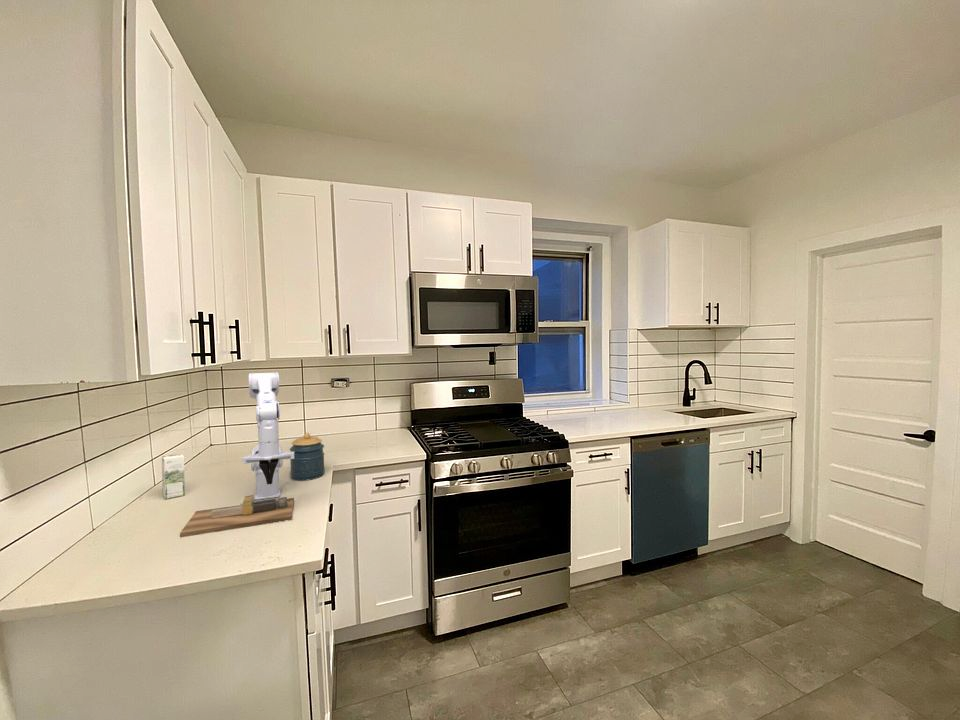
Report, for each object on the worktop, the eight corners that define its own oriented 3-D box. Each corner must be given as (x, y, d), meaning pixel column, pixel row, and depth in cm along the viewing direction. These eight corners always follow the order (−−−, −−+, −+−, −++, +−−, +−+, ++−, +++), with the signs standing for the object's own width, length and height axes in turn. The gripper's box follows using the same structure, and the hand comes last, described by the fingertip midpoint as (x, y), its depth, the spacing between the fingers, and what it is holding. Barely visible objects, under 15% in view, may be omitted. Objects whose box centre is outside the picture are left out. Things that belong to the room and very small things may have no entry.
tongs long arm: (212, 516, 122) (212, 509, 122) (275, 507, 128) (275, 501, 128) (211, 518, 120) (211, 511, 120) (275, 509, 126) (274, 503, 126)
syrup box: (182, 491, 147) (181, 452, 147) (185, 495, 143) (184, 455, 142) (162, 495, 143) (161, 455, 143) (165, 500, 139) (163, 458, 138)
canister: (286, 482, 156) (285, 437, 156) (294, 472, 169) (293, 430, 168) (321, 479, 159) (320, 435, 158) (327, 469, 172) (326, 429, 171)
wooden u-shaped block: (245, 508, 128) (245, 496, 127) (254, 507, 128) (254, 495, 128) (242, 515, 122) (242, 502, 122) (252, 513, 123) (251, 501, 123)
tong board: (196, 514, 126) (195, 503, 126) (294, 501, 137) (293, 490, 137) (180, 537, 111) (179, 523, 111) (291, 519, 122) (291, 507, 122)
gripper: (240, 445, 120) (241, 490, 121) (293, 441, 126) (294, 484, 126) (243, 440, 127) (245, 483, 127) (294, 436, 132) (295, 477, 133)
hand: (269, 483), depth 127 cm, fingers closed
